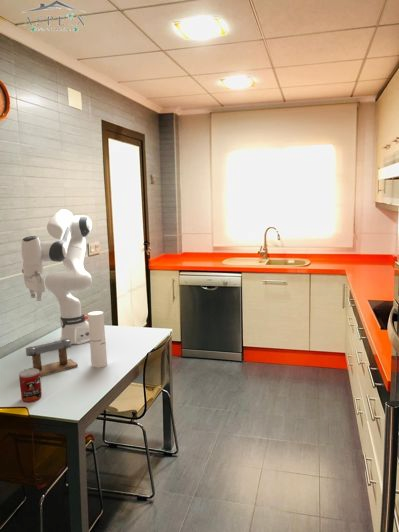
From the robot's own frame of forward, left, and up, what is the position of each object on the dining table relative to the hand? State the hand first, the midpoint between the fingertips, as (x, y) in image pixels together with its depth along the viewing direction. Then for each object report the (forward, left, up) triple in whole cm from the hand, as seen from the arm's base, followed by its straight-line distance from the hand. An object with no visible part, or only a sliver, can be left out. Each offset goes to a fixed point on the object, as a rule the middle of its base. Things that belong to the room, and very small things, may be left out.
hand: (36, 299), depth 216 cm
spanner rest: (0, +14, -31) cm, 34 cm away
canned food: (+16, +40, -31) cm, 53 cm away
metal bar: (0, +14, -22) cm, 26 cm away
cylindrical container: (-20, +23, -31) cm, 44 cm away
